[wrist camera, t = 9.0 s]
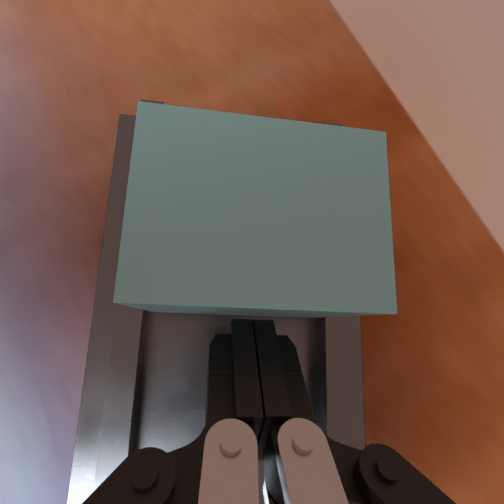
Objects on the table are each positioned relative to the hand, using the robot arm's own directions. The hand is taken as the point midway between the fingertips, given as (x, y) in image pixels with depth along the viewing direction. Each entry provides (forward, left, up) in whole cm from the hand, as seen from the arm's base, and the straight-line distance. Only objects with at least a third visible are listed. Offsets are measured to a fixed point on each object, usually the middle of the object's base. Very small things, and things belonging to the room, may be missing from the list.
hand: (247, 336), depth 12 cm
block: (-1, +4, -5) cm, 6 cm away
